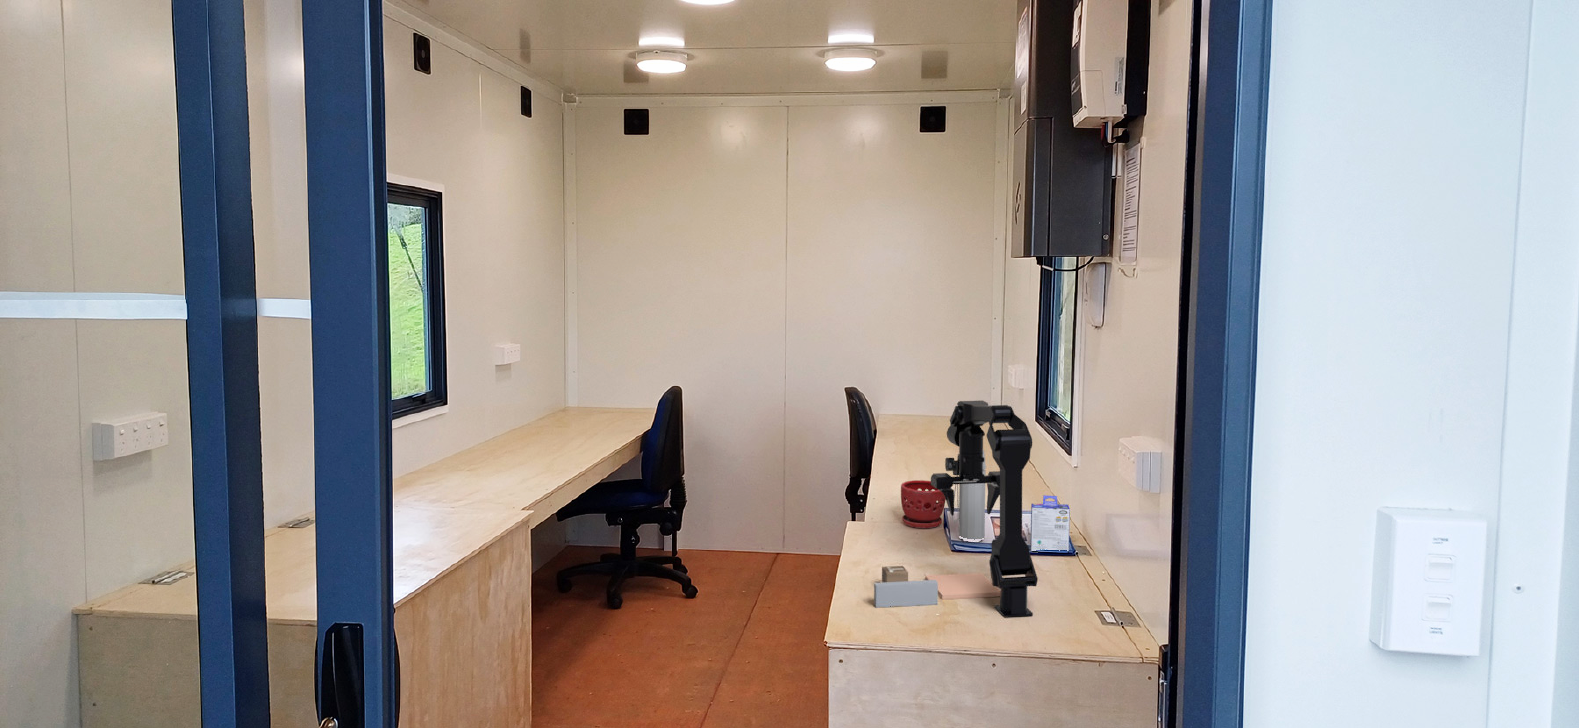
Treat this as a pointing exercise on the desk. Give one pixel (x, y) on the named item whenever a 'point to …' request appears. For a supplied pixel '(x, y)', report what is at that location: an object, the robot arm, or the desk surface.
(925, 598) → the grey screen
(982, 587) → the mat
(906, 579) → the walnut cube
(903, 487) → the plant pot
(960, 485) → the water bottle
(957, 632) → the desk surface
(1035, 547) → the ink cartridge box
